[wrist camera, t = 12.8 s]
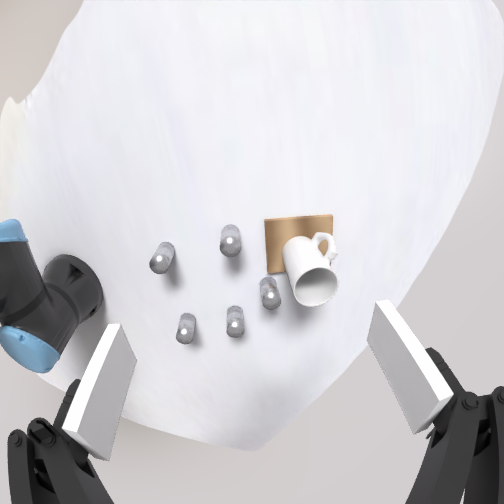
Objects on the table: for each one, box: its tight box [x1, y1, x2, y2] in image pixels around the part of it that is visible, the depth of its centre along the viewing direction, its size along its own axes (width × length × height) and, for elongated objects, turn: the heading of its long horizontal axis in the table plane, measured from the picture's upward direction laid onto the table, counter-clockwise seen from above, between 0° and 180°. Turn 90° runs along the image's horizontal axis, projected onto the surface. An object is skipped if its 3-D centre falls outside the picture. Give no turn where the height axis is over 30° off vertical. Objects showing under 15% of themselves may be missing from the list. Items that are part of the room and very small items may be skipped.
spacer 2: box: [176, 313, 196, 344], centre depth 52 cm, size 3×3×6 cm
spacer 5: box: [260, 277, 281, 310], centre depth 50 cm, size 3×3×6 cm
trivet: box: [265, 215, 333, 273], centre depth 49 cm, size 12×10×1 cm
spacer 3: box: [220, 225, 241, 257], centre depth 45 cm, size 3×3×6 cm
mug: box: [282, 232, 339, 307], centre depth 43 cm, size 10×7×12 cm, turn 152°
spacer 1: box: [150, 242, 175, 274], centre depth 46 cm, size 3×3×6 cm
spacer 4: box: [227, 306, 244, 338], centre depth 52 cm, size 3×3×6 cm
